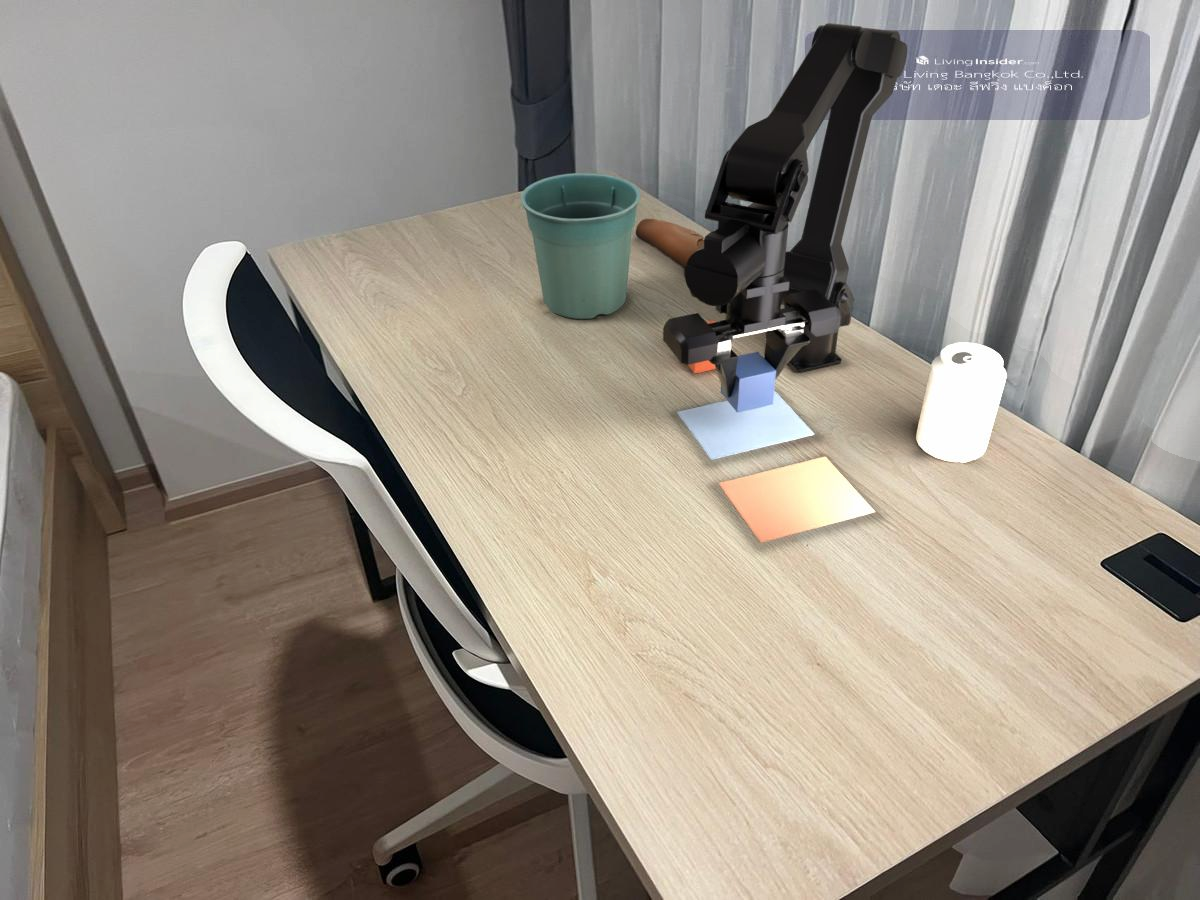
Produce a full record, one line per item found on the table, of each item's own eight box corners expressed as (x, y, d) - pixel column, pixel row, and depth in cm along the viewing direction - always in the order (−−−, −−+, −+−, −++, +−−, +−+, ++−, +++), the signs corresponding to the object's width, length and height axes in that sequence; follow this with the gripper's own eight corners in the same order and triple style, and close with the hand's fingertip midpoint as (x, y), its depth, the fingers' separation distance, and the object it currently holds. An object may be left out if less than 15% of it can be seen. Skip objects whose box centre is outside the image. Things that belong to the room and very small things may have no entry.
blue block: (755, 384, 105) (757, 351, 103) (773, 404, 102) (776, 370, 99) (720, 392, 104) (721, 359, 101) (737, 413, 101) (739, 379, 98)
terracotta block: (712, 350, 119) (713, 320, 117) (726, 366, 116) (728, 336, 113) (680, 356, 118) (681, 326, 116) (694, 373, 115) (695, 343, 112)
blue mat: (773, 393, 111) (774, 389, 110) (814, 438, 103) (815, 434, 103) (676, 415, 108) (676, 411, 107) (710, 463, 100) (711, 459, 100)
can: (935, 420, 105) (956, 330, 98) (996, 446, 101) (1023, 354, 93) (901, 448, 101) (920, 356, 94) (963, 477, 97) (989, 383, 89)
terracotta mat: (824, 460, 100) (825, 455, 99) (874, 515, 92) (875, 511, 92) (717, 487, 97) (717, 482, 96) (760, 547, 89) (760, 542, 89)
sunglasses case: (741, 266, 138) (724, 235, 133) (707, 297, 138) (689, 268, 133) (678, 226, 151) (660, 197, 146) (647, 254, 151) (628, 226, 146)
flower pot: (664, 305, 130) (665, 197, 120) (568, 340, 123) (561, 229, 113) (600, 265, 141) (596, 164, 131) (509, 296, 134) (498, 191, 124)
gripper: (799, 221, 101) (786, 341, 111) (644, 249, 97) (645, 372, 106) (851, 261, 93) (833, 388, 102) (684, 294, 88) (681, 423, 98)
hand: (747, 391), depth 102 cm, fingers closed on blue block, 4 cm apart
